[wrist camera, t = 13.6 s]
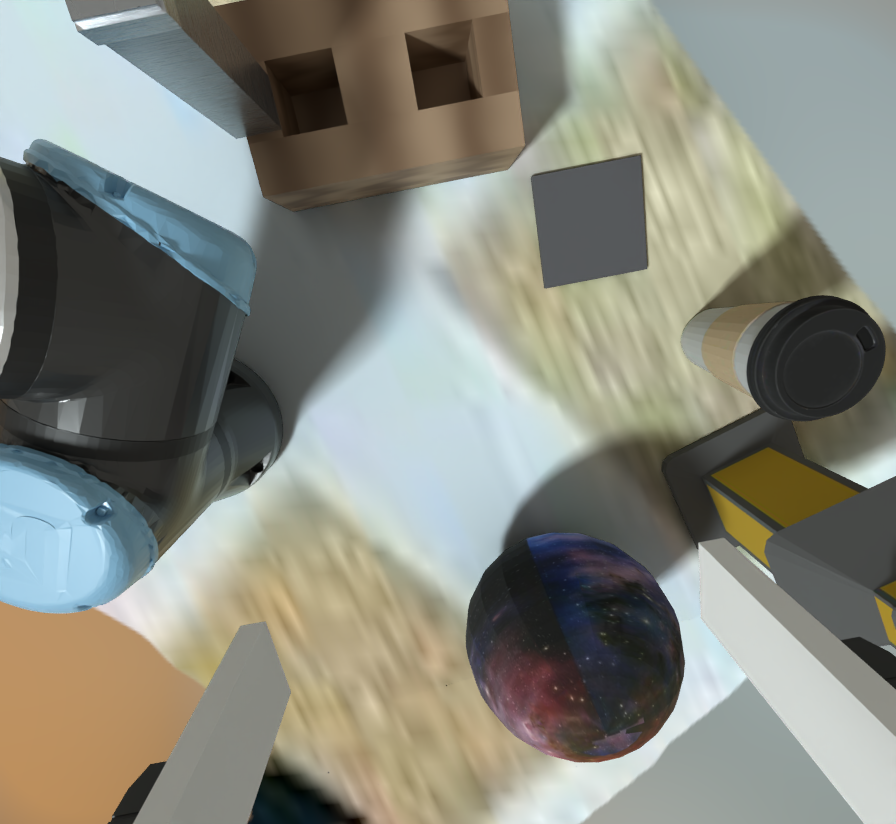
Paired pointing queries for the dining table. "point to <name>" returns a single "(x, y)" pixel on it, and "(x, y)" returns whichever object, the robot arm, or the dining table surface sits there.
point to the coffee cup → (791, 353)
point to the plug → (186, 57)
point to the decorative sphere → (575, 647)
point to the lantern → (794, 522)
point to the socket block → (380, 94)
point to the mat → (590, 221)
